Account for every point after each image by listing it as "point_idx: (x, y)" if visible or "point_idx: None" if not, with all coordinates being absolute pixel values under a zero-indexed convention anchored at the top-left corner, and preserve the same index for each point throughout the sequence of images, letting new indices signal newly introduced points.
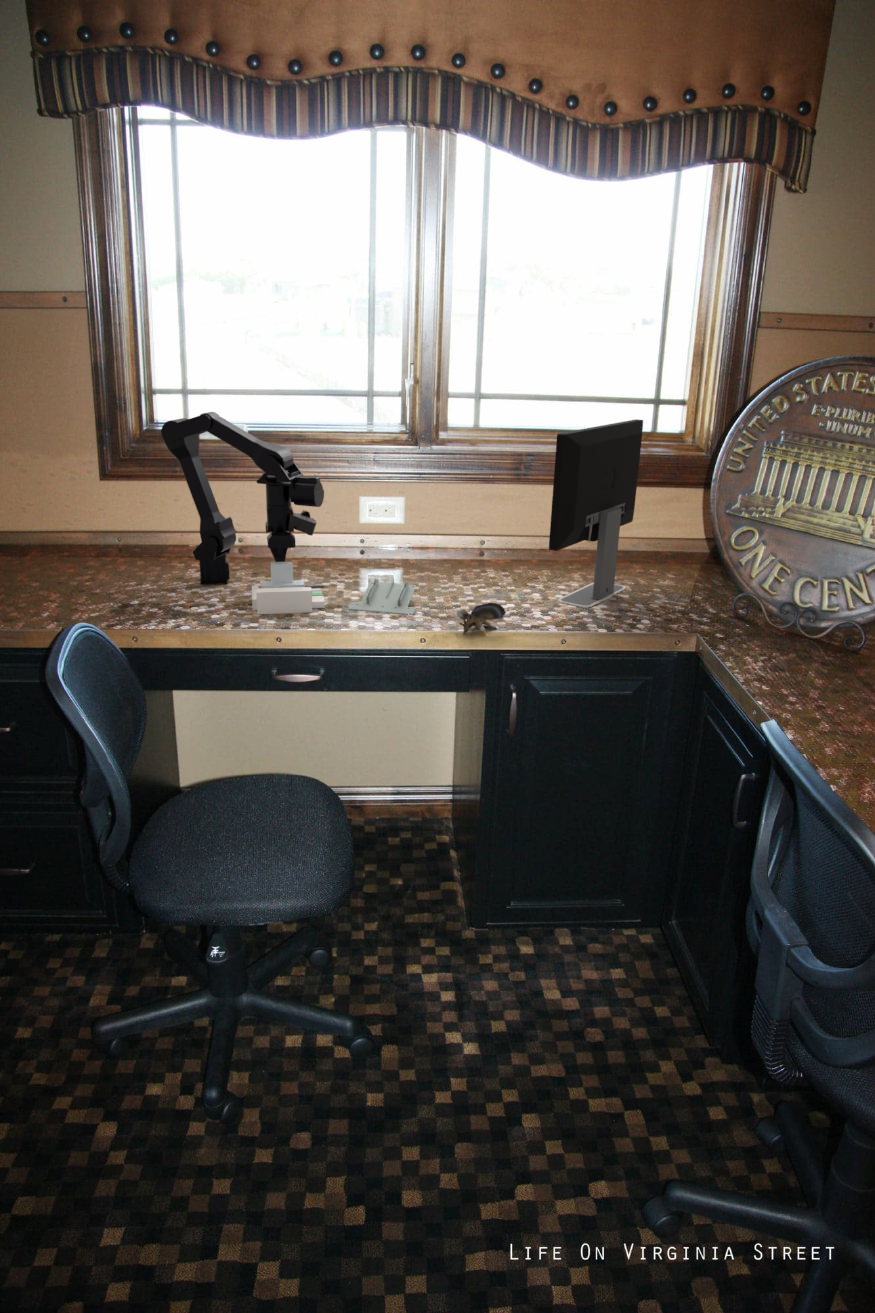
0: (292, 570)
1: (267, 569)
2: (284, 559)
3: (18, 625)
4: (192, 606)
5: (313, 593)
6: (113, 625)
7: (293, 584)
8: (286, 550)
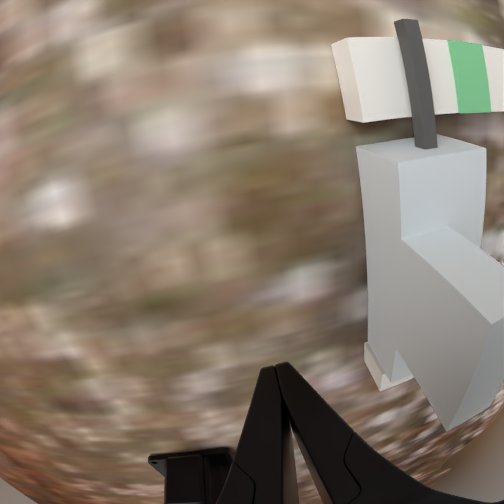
0: (501, 268)
1: (4, 377)
2: (336, 414)
3: (427, 486)
4: (422, 424)
5: (469, 91)
6: (468, 440)
7: (476, 217)
8: (410, 478)
